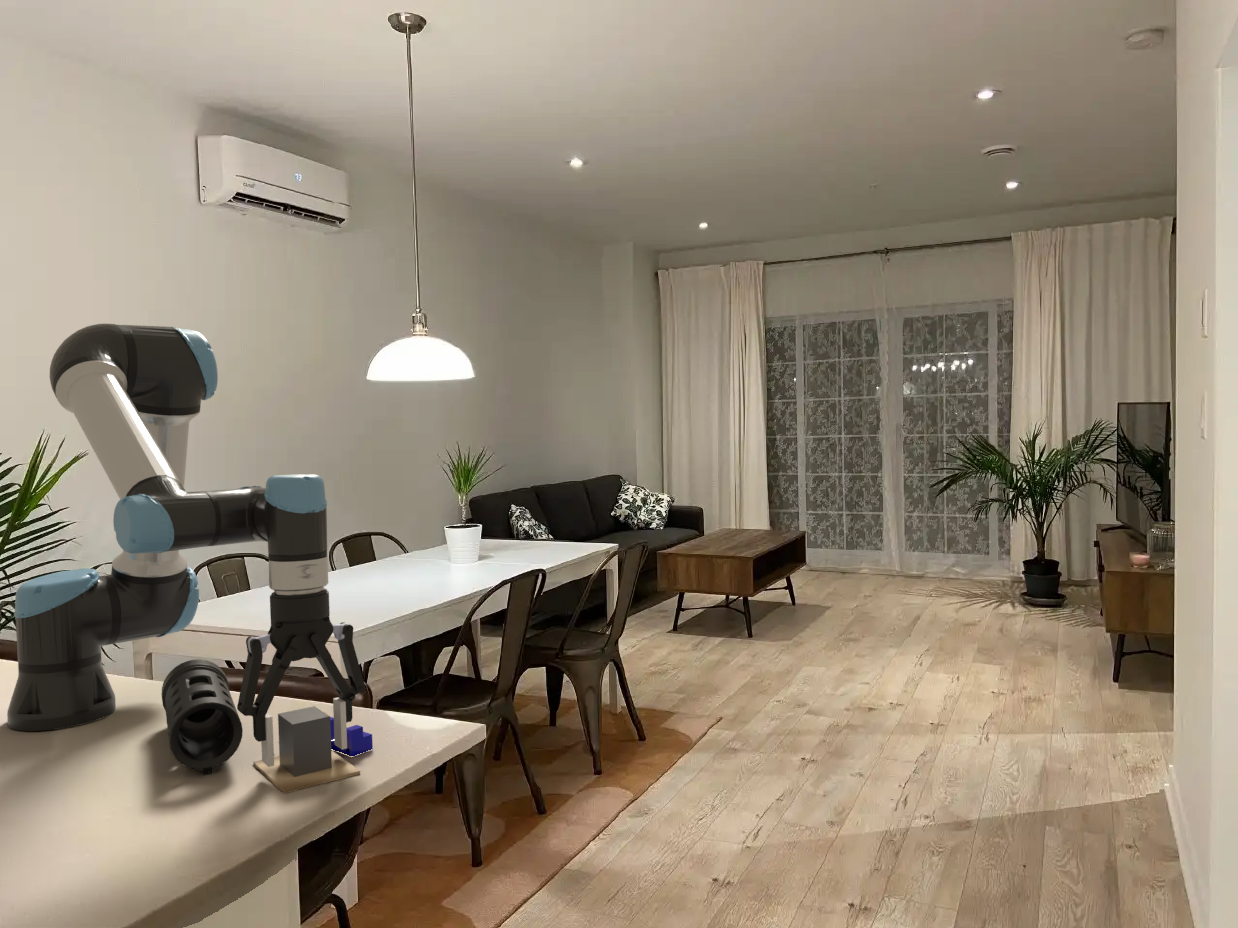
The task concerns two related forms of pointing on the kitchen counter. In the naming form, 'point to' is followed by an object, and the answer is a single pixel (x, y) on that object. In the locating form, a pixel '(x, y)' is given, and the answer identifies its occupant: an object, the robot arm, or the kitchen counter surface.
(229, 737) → the muzzle brake
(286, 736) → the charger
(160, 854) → the kitchen counter surface
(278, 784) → the mat
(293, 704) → the kitchen counter surface
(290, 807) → the kitchen counter surface
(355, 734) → the cable holder
